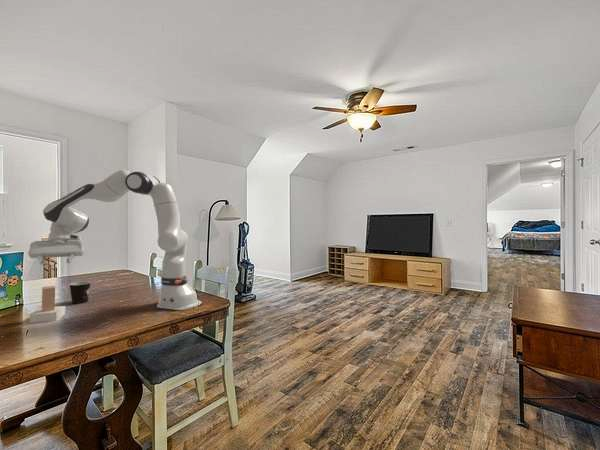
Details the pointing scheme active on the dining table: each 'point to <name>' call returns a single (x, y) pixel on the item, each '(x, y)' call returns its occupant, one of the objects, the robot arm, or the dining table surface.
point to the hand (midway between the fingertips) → (55, 263)
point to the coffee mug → (80, 292)
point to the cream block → (47, 315)
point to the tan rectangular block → (48, 298)
